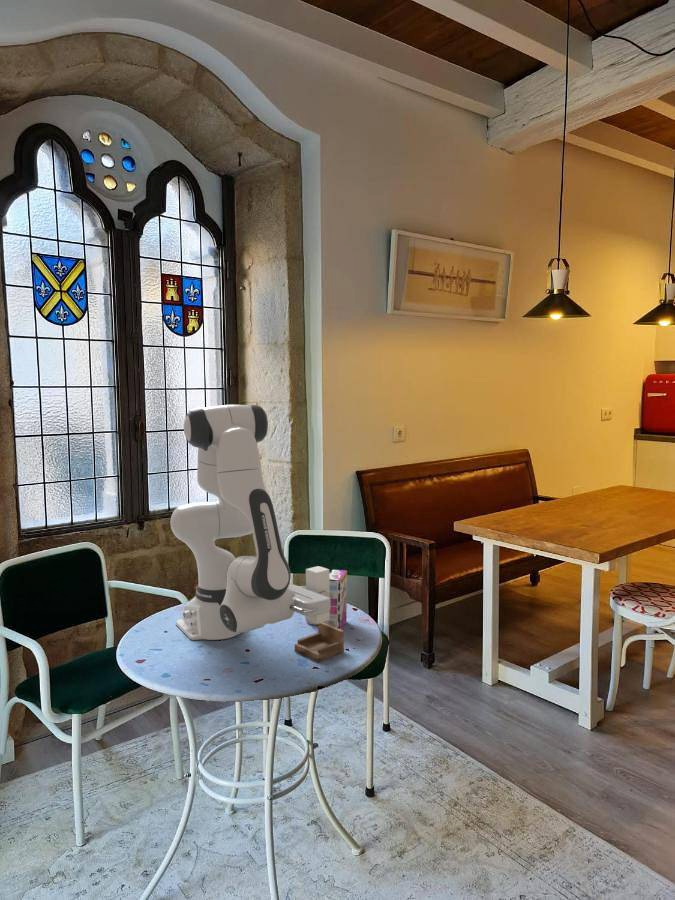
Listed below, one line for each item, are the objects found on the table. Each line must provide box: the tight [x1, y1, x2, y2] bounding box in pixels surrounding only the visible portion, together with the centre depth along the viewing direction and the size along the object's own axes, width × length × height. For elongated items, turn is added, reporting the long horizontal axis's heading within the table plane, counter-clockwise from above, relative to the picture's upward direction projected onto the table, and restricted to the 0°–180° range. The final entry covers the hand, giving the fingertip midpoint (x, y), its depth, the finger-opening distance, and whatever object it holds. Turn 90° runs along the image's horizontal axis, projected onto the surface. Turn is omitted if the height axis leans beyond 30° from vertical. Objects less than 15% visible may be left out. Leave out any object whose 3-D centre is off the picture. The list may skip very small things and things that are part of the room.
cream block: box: [305, 565, 330, 624], centre depth 171 cm, size 4×5×14 cm
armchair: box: [294, 622, 345, 663], centre depth 173 cm, size 10×10×6 cm
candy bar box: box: [324, 569, 348, 630], centre depth 189 cm, size 11×5×16 cm, turn 168°
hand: (320, 591), depth 172 cm, fingers closed on cream block, 4 cm apart
